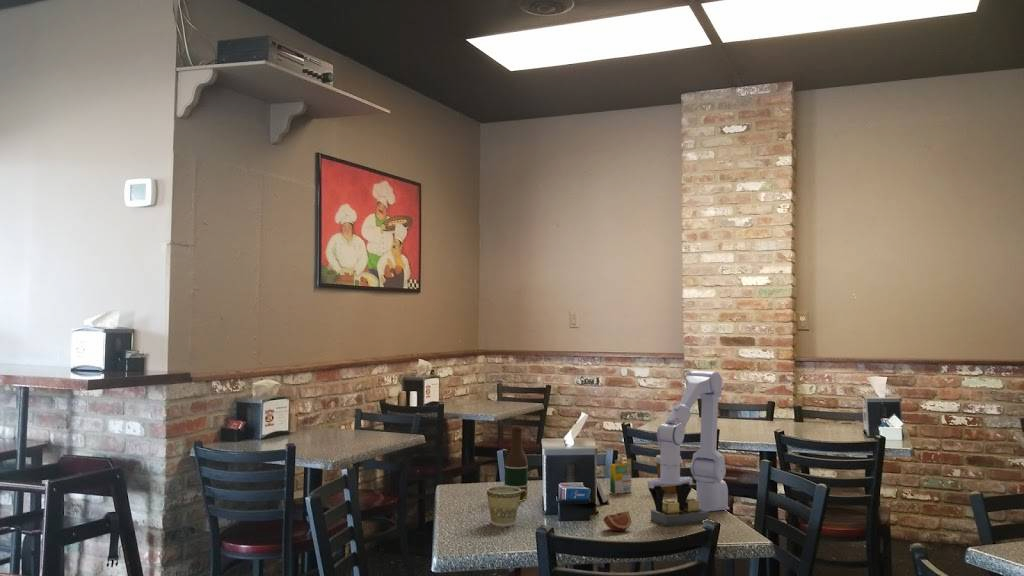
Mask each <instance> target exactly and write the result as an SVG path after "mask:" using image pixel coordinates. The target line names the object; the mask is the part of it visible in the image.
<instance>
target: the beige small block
mask: <svg viewBox="0 0 1024 576" xmlns="http://www.w3.org/2000/svg"><path fill="white" fill-rule="evenodd" d="M661 513H664V514H666V515H673V514H679V503H678V502H677V500H674V499H671V498H669V499H663V510H662V512H661Z"/></svg>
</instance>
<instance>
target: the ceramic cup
mask: <svg viewBox="0 0 1024 576" xmlns="http://www.w3.org/2000/svg"><path fill="white" fill-rule="evenodd" d="M523 491H525V497H524V498H523V499H522V500H521V501H519V500H520V494H521V492H523ZM486 496H487V503H488V506H489V507H488V508H489V516H490V520H491V524H492V525H493V526H494V525H495V527H498V526H502V528H507V527H506V526H509V527H512V525H513V526H514V525H515V524H516V519H517V512H518V509H519V506H520V505H521V504H522V502H523V501H525V500H524V499H525V498H526V496H527V497H528V491H527V492H526V490H524V489H520V488H517V487H512V486H505V485H496V486H490V487H488V488H486ZM526 499H527V498H526Z"/></svg>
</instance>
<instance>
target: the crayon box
mask: <svg viewBox="0 0 1024 576" xmlns="http://www.w3.org/2000/svg"><path fill="white" fill-rule="evenodd" d="M609 473H610V474H609V477H610V478H609V481H610V483H609V488H610V490H609V492H612V493H611V494H613V493H614V494H613V495H618V494H617V493H619V494H624V493H625V492H627V493H632V458H625V459H615V460H614V463H612V464H609ZM625 494H626V493H625Z"/></svg>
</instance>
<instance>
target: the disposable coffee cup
mask: <svg viewBox="0 0 1024 576" xmlns="http://www.w3.org/2000/svg"><path fill="white" fill-rule="evenodd" d="M660 457H661V454H657V455H656V456H655V459H654V461H655V463H656V472H657V479H659V478H660ZM682 464H683V459H682V456H680V470H681V468H682ZM661 488H662V490H665V492H668V493H667V494H675V493H677V492H676V487H675V486H665V487H661ZM665 492H664V493H665Z"/></svg>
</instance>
